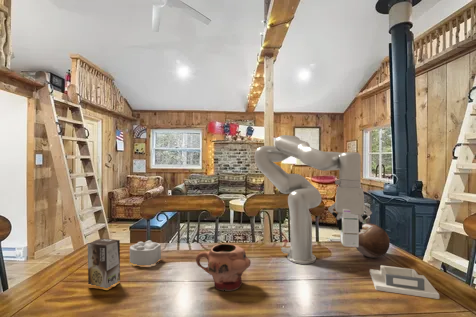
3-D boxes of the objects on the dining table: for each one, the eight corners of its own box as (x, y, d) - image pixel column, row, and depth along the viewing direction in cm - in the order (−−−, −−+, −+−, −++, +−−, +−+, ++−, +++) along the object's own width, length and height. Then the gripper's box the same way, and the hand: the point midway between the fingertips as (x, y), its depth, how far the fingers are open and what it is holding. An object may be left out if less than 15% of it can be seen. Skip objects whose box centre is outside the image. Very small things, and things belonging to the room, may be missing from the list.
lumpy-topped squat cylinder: (152, 268, 107) (151, 247, 107) (124, 266, 109) (123, 246, 109) (163, 258, 117) (163, 239, 117) (137, 257, 119) (137, 238, 120)
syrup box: (359, 247, 95) (359, 209, 95) (342, 246, 96) (342, 208, 96) (355, 242, 101) (355, 206, 100) (339, 241, 102) (339, 205, 102)
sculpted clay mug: (191, 294, 86) (191, 252, 86) (198, 277, 98) (198, 241, 98) (251, 294, 85) (250, 253, 85) (250, 277, 97) (250, 241, 97)
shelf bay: (375, 289, 87) (375, 275, 87) (369, 272, 100) (369, 260, 100) (439, 299, 81) (439, 283, 81) (424, 279, 94) (423, 266, 94)
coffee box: (121, 283, 94) (120, 239, 94) (106, 292, 88) (106, 245, 88) (102, 279, 97) (101, 237, 97) (87, 288, 91) (86, 242, 91)
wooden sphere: (347, 256, 117) (347, 223, 117) (361, 248, 127) (360, 218, 128) (383, 266, 106) (382, 230, 106) (394, 256, 116) (394, 223, 116)
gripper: (325, 184, 98) (325, 230, 98) (376, 186, 92) (375, 235, 92) (326, 182, 105) (325, 225, 105) (373, 184, 99) (372, 230, 99)
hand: (349, 229), depth 98 cm, fingers closed on syrup box, 6 cm apart
